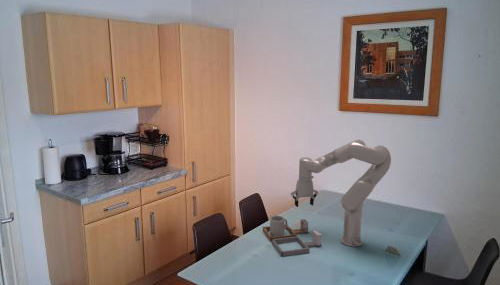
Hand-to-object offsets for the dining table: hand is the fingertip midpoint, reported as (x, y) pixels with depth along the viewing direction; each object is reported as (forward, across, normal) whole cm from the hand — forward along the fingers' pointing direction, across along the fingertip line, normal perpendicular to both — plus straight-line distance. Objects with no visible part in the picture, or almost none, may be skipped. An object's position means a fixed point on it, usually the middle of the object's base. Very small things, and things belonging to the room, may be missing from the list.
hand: (304, 205), depth 226 cm
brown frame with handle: (+17, +11, 0) cm, 20 cm away
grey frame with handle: (+17, +11, +18) cm, 27 cm away
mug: (+17, +16, 0) cm, 23 cm away
